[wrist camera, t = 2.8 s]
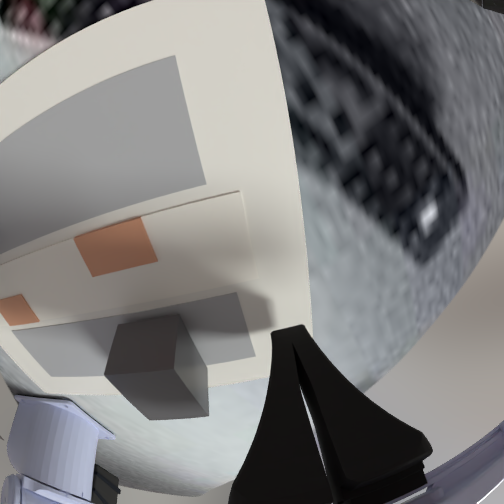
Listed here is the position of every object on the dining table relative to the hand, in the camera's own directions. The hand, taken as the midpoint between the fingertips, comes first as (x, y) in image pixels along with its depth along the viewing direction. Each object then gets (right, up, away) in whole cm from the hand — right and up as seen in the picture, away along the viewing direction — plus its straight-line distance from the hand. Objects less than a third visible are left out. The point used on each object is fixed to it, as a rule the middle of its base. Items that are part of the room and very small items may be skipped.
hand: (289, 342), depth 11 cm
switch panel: (-10, +3, 0) cm, 10 cm away
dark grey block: (-6, -1, +1) cm, 6 cm away
